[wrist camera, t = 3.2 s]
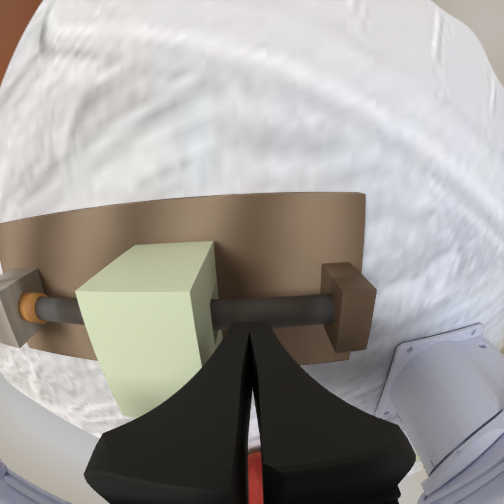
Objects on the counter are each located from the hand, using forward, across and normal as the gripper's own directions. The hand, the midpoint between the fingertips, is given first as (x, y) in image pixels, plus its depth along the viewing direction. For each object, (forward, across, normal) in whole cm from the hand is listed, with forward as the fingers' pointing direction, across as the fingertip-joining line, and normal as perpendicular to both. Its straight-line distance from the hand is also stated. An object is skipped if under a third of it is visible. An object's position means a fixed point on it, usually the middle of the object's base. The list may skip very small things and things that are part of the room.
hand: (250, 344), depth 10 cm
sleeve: (+4, +4, 0) cm, 5 cm away
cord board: (+6, +6, 0) cm, 8 cm away
